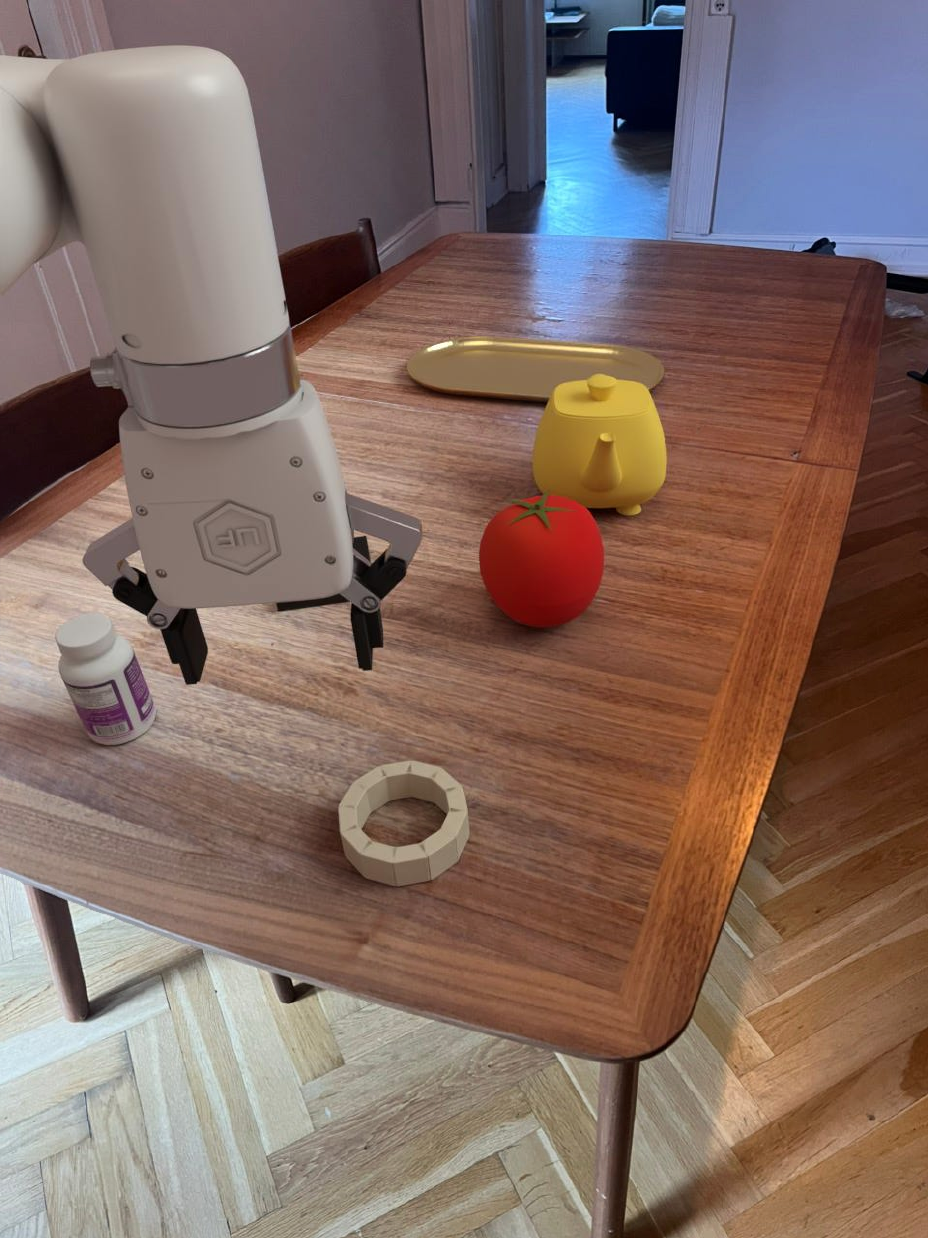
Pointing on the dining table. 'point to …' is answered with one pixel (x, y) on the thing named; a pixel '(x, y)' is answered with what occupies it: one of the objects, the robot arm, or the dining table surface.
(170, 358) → the robot arm
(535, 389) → the serving platter
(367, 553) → the peg stand
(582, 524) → the tomato
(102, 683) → the pill bottle
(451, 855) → the tape roll
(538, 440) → the teapot
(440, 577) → the dining table surface
